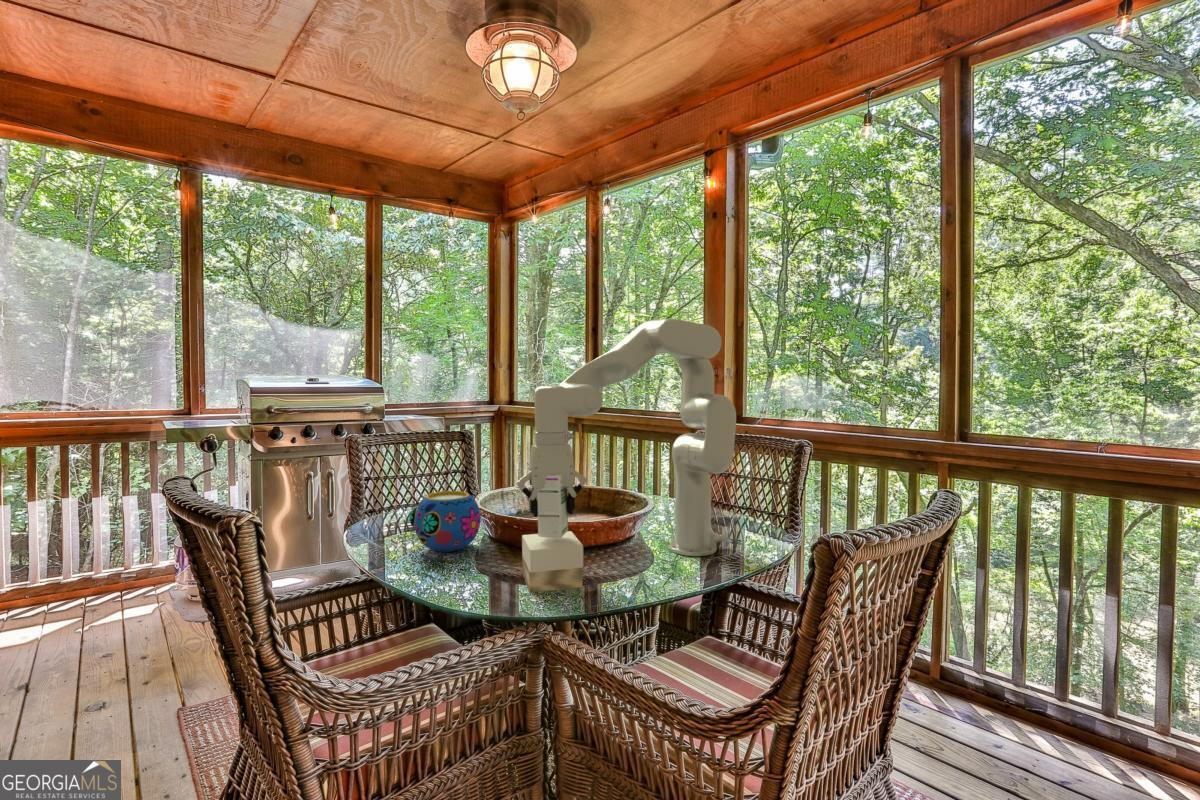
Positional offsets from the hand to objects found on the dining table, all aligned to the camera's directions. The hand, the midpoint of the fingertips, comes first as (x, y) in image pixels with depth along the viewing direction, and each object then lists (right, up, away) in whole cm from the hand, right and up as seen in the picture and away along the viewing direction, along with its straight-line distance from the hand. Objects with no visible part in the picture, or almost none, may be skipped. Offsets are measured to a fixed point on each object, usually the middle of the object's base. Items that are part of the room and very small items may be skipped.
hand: (552, 514), depth 137 cm
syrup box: (0, -5, 0) cm, 5 cm away
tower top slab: (0, -11, 0) cm, 11 cm away
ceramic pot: (-31, -14, +25) cm, 42 cm away
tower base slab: (0, -16, +1) cm, 16 cm away
